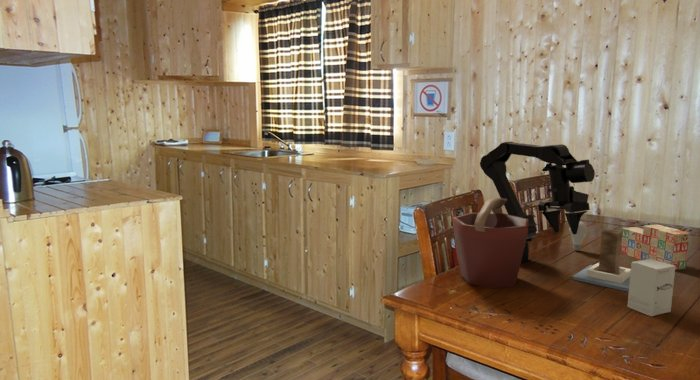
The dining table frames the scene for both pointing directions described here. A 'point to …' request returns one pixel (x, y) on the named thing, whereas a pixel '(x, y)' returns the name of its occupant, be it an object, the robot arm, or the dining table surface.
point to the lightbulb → (579, 236)
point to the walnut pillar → (610, 251)
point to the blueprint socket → (605, 277)
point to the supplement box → (651, 287)
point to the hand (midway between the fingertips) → (565, 233)
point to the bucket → (490, 245)
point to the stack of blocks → (656, 244)
